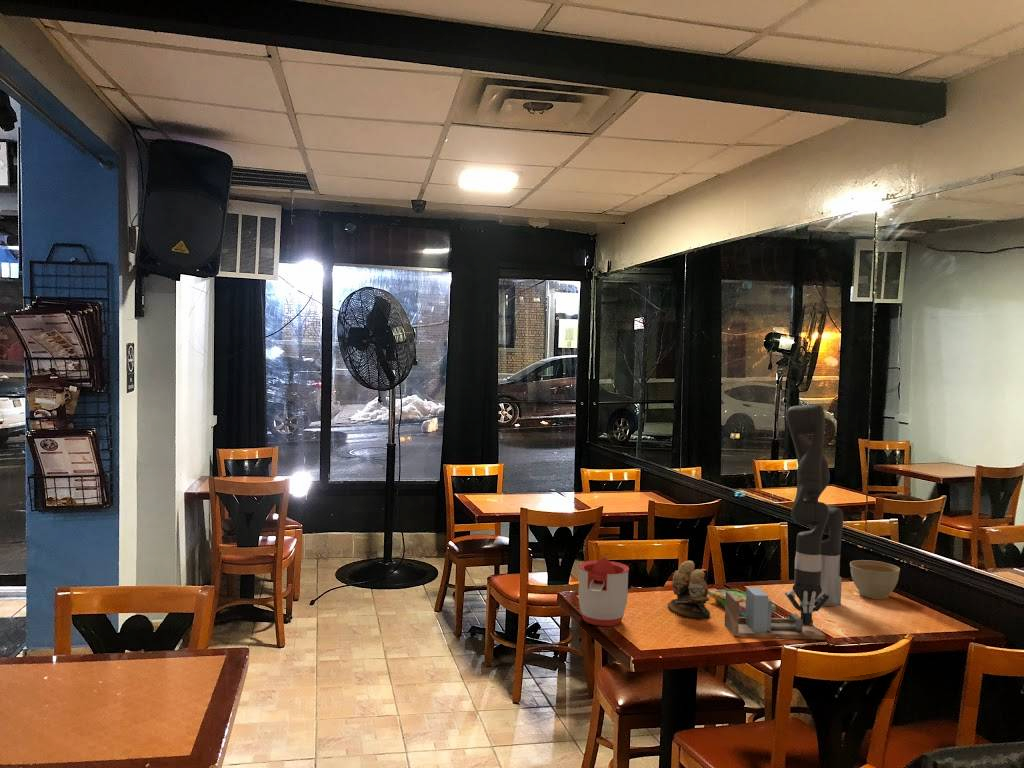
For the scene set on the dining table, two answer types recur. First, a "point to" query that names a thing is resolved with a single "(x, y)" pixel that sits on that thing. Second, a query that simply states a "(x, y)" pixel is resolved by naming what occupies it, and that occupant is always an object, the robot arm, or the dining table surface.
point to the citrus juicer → (603, 591)
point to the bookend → (794, 624)
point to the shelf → (741, 629)
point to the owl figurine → (689, 592)
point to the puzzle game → (740, 595)
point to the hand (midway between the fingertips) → (805, 624)
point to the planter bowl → (874, 578)
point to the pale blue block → (756, 609)
